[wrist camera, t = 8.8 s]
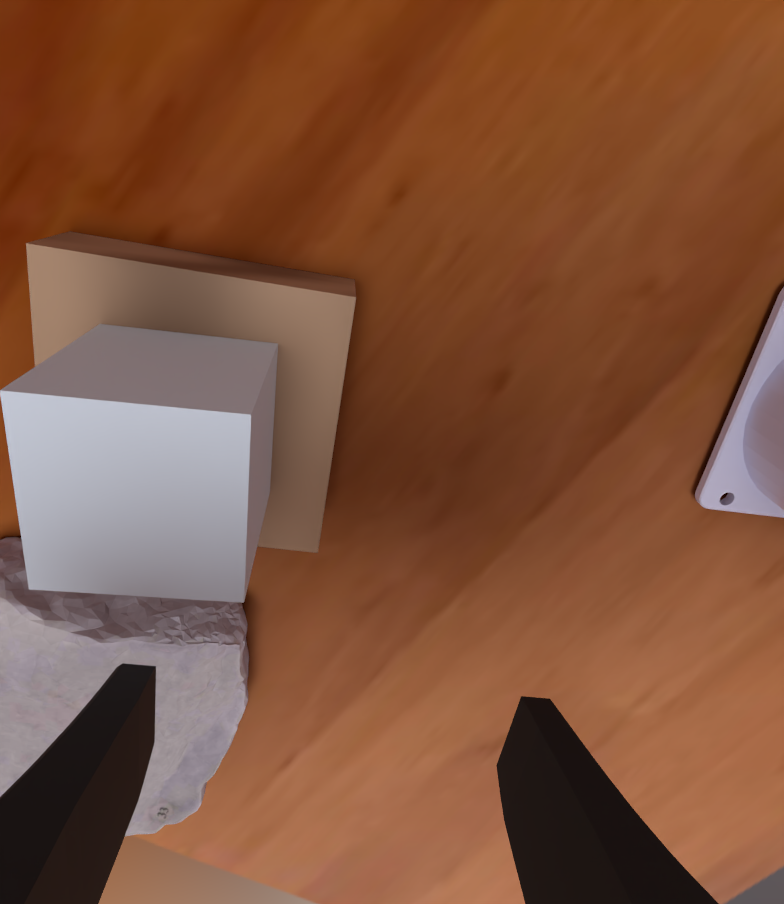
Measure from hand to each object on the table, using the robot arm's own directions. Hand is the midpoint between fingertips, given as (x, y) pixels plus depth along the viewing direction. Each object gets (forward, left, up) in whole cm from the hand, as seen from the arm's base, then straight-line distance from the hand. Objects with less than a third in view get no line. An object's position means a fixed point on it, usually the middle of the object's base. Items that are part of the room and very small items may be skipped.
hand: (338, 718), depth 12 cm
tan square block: (+5, -3, -10) cm, 12 cm away
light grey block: (+5, -3, -7) cm, 9 cm away
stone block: (+7, +9, -10) cm, 16 cm away
